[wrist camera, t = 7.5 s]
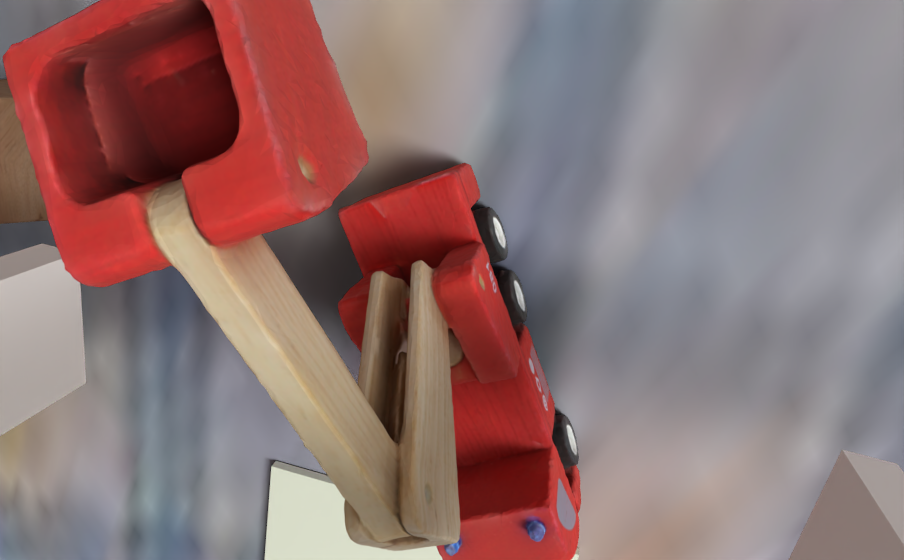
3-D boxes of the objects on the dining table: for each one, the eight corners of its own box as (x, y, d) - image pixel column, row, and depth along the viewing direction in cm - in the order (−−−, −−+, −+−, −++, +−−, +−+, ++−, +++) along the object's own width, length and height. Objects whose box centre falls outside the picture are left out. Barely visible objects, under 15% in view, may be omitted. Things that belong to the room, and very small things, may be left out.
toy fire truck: (486, 500, 19) (396, 894, 10) (311, 58, 15) (-66, 41, 6) (593, 483, 18) (601, 902, 9) (431, 6, 14) (180, -98, 6)
